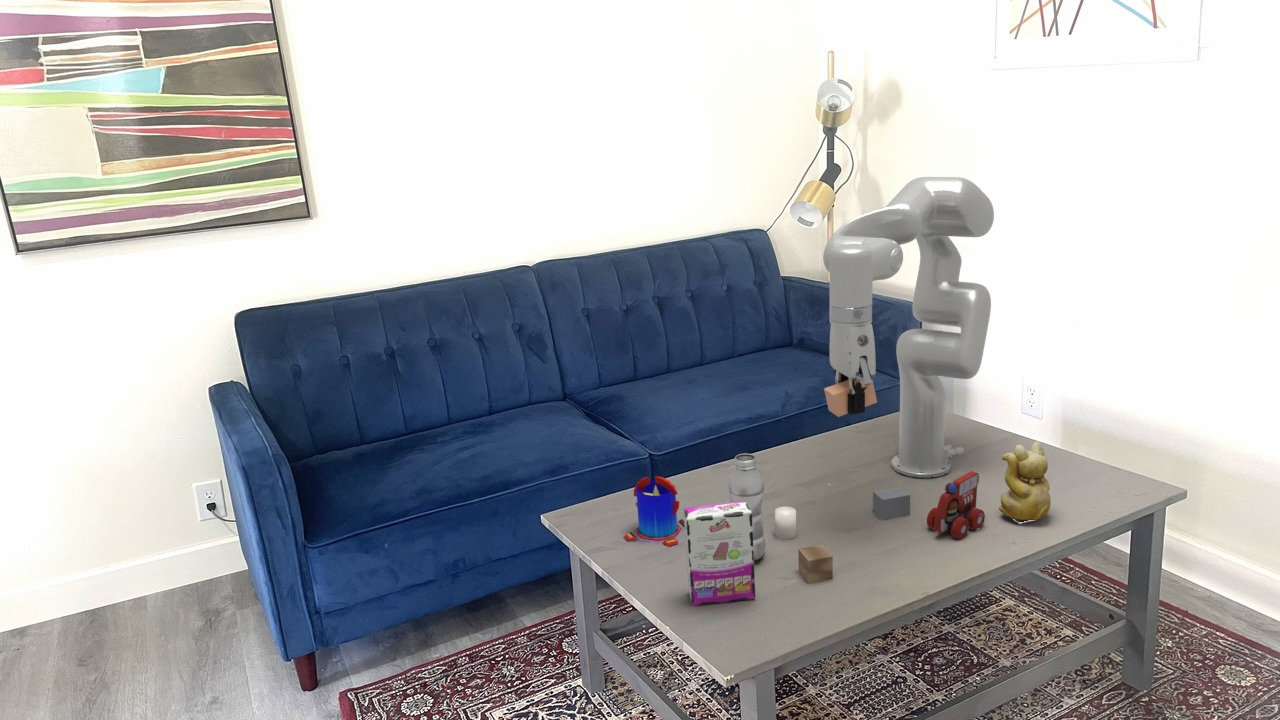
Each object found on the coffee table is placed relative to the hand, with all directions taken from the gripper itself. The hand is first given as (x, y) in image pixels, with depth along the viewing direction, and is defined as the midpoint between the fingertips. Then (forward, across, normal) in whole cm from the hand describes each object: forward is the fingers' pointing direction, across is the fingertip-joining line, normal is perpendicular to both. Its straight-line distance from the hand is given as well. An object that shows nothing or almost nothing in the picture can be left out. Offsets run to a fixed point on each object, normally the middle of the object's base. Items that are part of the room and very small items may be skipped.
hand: (850, 408), depth 171 cm
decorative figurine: (+25, -7, -34) cm, 43 cm away
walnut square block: (+25, -13, +13) cm, 31 cm away
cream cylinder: (+25, +3, +12) cm, 28 cm away
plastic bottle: (+25, -3, +22) cm, 34 cm away
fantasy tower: (+25, +13, +35) cm, 45 cm away
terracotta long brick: (0, 0, 0) cm, 1 cm away
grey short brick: (+25, +4, -11) cm, 28 cm away
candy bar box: (+25, -14, +31) cm, 43 cm away
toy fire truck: (+26, -6, -19) cm, 32 cm away
